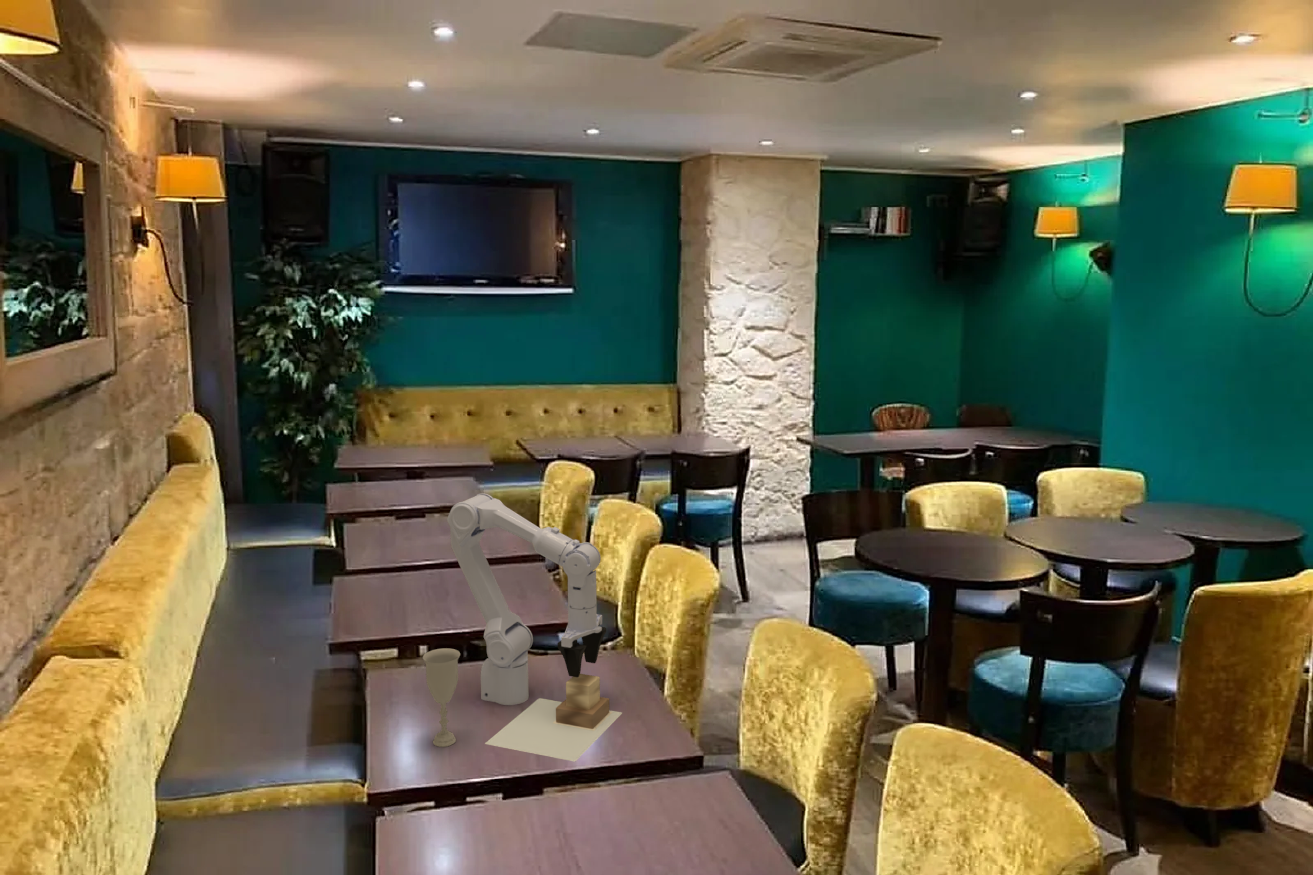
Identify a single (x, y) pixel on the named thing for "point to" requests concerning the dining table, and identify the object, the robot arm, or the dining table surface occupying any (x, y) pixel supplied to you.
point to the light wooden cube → (583, 691)
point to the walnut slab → (582, 714)
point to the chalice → (442, 686)
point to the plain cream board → (549, 732)
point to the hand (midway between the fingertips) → (582, 669)
